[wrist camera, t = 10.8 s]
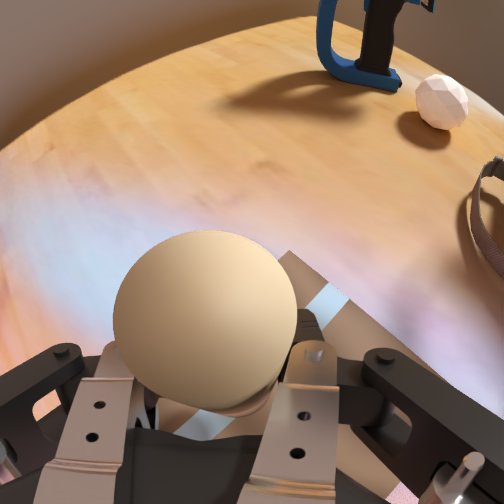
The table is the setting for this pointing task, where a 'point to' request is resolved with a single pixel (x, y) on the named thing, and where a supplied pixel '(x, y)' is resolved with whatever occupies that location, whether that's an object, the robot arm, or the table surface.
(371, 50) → the handheld scanner
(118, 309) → the tan round-topped cylinder
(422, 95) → the ball
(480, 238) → the knee pad
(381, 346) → the board
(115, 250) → the table surface
